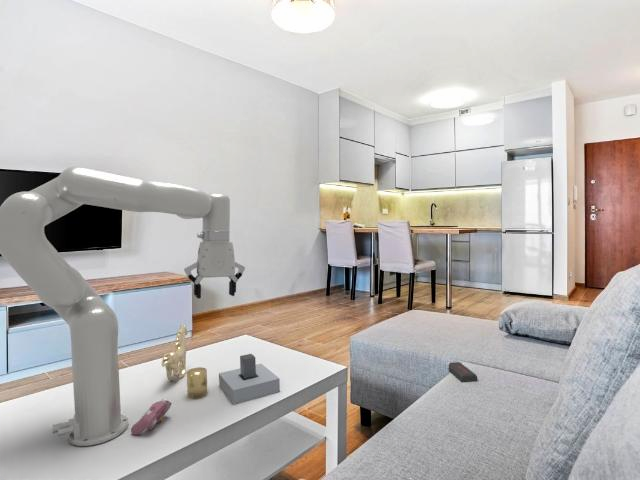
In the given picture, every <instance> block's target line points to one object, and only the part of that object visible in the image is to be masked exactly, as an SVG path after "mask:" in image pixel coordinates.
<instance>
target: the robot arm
mask: <svg viewBox="0 0 640 480" xmlns="http://www.w3.org/2000/svg"><path fill="white" fill-rule="evenodd" d="M82 205H90V206H93V207H94V206H96V207H103V208H107V209H108V208H109V209H114V210H121V211H127V212H132V213H133V212H134V213H163V214H171V215H176V216H177V217H179V218H180V219H185V220H195V219H202V231H201V232H198V233H196V235H197V236H196V237H197V238H198V239H200V240H201V241H200V242H199V246H198V252H197V258H196V259H197V260H196V262H195V263H192V264H190V265H188V266H186V267H184V269H183V271H184V273H185V275H186V276H187V278H188V279H189V281H190V282H192V283H193V296H195V298H196V299H201V298H202V284H201V281H202V280H203V279H204V278H207V279H208V278H225V277H227V278H228V279H229V280H230V281H229V282H228V295H229V296H232V297H235V293H237V282H238V281H239V279H240V278H241V277H242V276H243V273H244V272H245V270H246V267H245V266H244V265H242V264H240V263H238V262H236V259H235V249H234V243H233V242H232V241H230V228H231V227H230V225H231V224H230V218H231V217H230V216H231V215H230V214H231V199H230V197H229V196H228V195H226V194H223V193H222V194H221V193H208V194H207V193H206V192H205V191H203V190H200V189H197V188H193V187H188V186H184V185H179V184H174V183H167V182H160V181H154V180H150V179H144V178H138V177H133V176H129V175H128V176H127V175H122V174H118V173H112V172H109V171H103V170H98V169H95V168H94V169H93V168H89V167H83V166H70V167H67V168H66V169H64V170H63V171H61V173H60V174H59V175H58V176H57V177H55V178H53V179H51V180H49V181H48V182H45V183H44V184H41V185H40V186H37V187H36V188H33V189H31V190H29V191H20V192H16V193H13V194H11V195H10V196H7V198H6V199H5V200H4V201H3V203H2V204H1V205H0V255H1V257H2V258H3V259H4V260H5V261H6V262H7V264H9V266H10V267H11V269H13V270H14V272H15V273H16V274H17V275H18V276H19V278H21V279H22V281H24V283H26V284H27V286H28V287H29V288H30V289H31V290H32V291H33V292H34V294H35V295H36V296H37V297H38V299H39V301H41V302H42V303H43V304H44V305H46V306H48V307H50V308H52V309H53V311H54V312H56V313H57V315H59V316H60V318H61V319H63V321H64V322H65V323H66V324H67V325H68V327H69V330H70V331H69V332H70V334H69V335H70V343H71V344H70V346H71V369H72V372H71V373H72V384H73V399H74V400H73V402H74V404H73V405H74V414H73V418H70V419H68V421H64V422H59V423H54V424H52V434H56V433H57V436H59V437H60V436H64V435H66V434H68V435H67V438H68V439H67V440H68V442H69V444H71V445H74V446H78V447H88V446H89V447H90V446H95V445H99V444H103V443H106V442H109V441H110V440H113V439H115V438H117V437H118V436H119V435H121V434H122V433H124V432H125V431H126V429H127V428H128V426H129V419H128V417H127V415H124V414H122V412H121V411H122V410H121V409H122V408H121V407H122V406H121V390H120V367H119V365H120V364H119V351H118V349H119V348H118V346H119V344H118V342H119V341H118V340H119V322H118V317H117V315H116V312H115V311H114V310H113V309H112V307H111V306H109V304H107V302H106V301H105V300H104V299H103V298H102V297H101V296H100V295H99V294H98V292H97V291H96V290H95V289H94V288H93V287H92V286H91V284H90V283H89V282H88V281H87V280H86V279H85V277H83V275H82V274H81V273H80V271H78V270H77V269H75V268H74V267H72V266H71V265H70V264H69V263H68V261H66V259H64V257H62V255H61V254H60V253H59V252H58V250H57V249H56V248H55V247H54V245H53V244H52V243H51V242H50V241H49V240H48V239H47V237H46V234H45V226H48V225H49V224H50V223H52V222H54V221H56V220H58V219H60V218H61V217H63V216H65V215H67V214H69V213H70V212H72V211H75V210H76V209H78V208H79V207H81V206H82ZM195 269H196V274H197V275H196V276H194V275H193V274H192V271H193V270H195ZM236 269H238V270H237V272H236ZM235 273H236V274H235Z"/></svg>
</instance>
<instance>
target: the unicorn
mask: <svg viewBox="0 0 640 480" xmlns="http://www.w3.org/2000/svg"><path fill="white" fill-rule="evenodd" d="M188 332H189V331H188V329H187V325H186V320H184V321H183V325H182V324H181V325H180V326H179V329H178V331H177V332H176V338H175V343H174V347H173V350H172V351H170V352H166V353H164V356H162V361H161V366H162V368H164V367H165V370H166V378H167V379H168V380H169V382H174V379H173V377H172V374H173V375H174V376H178V378H179V379H181V378H183V376H184V374H185V371H186V361H187V360H186V359H187V357H186V356H187V342H186V340H187V339H186V336H187V335H188ZM179 371H180V372H179Z"/></svg>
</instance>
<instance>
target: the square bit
mask: <svg viewBox="0 0 640 480" xmlns="http://www.w3.org/2000/svg"><path fill="white" fill-rule="evenodd" d="M239 363H240V364H239V365H240V366H239V369H240V370H241V378H242V379H243V380H248V379H252V378H256V365H257V364H256V363H257V361H256V356H255V355H254V354H252V353H248V354H243V355H240V356H239Z"/></svg>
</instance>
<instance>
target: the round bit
mask: <svg viewBox="0 0 640 480" xmlns="http://www.w3.org/2000/svg"><path fill="white" fill-rule="evenodd" d="M207 370H208V369H207V368H206V367H201V366H200V367H194V368H190V369H188V370H187V371H186V389H187V390H186V392H187V393H186V395H187V398H188V399H191V400H198V399H202V398H205V397H206V396H207V395H208V394H209V393H208V375H207V374H208V372H207Z"/></svg>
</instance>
